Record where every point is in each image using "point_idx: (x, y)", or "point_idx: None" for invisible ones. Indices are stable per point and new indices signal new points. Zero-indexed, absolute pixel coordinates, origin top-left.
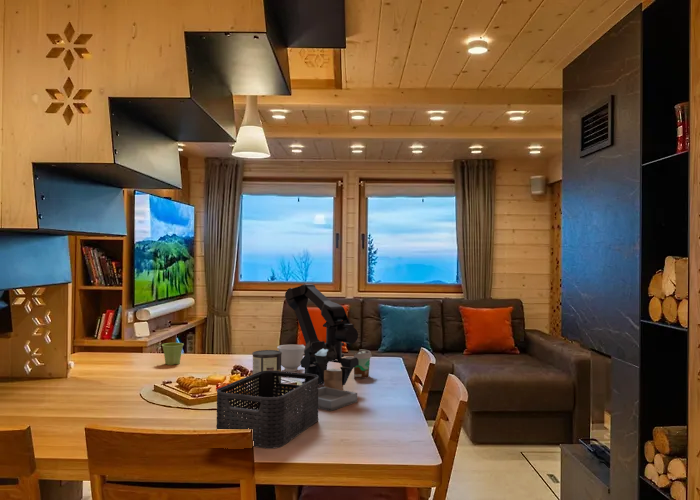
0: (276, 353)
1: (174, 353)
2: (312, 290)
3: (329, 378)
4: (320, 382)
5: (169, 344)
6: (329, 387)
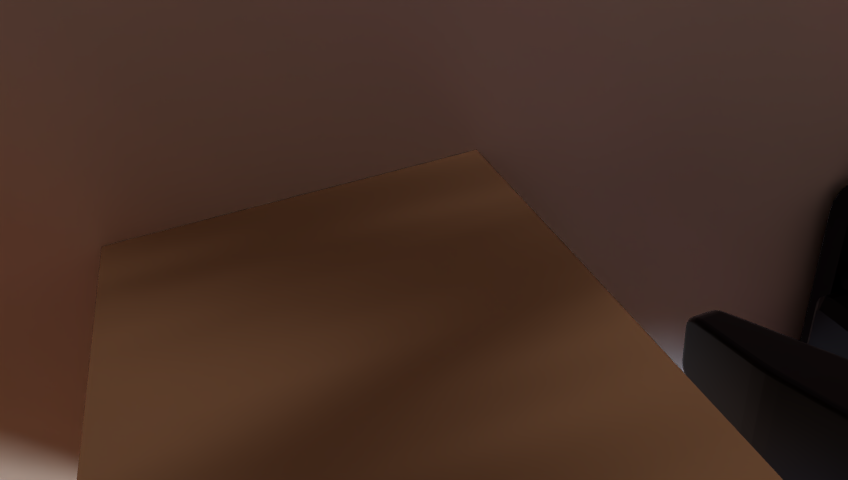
0: None
1: None
2: None
3: (387, 439)
4: (810, 344)
5: None
6: (309, 242)
